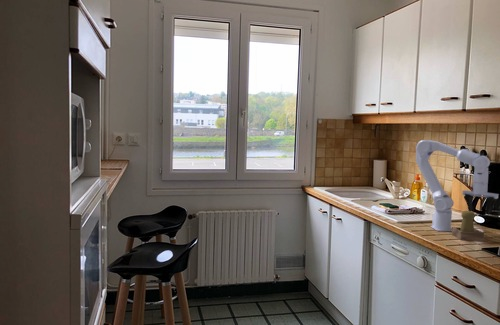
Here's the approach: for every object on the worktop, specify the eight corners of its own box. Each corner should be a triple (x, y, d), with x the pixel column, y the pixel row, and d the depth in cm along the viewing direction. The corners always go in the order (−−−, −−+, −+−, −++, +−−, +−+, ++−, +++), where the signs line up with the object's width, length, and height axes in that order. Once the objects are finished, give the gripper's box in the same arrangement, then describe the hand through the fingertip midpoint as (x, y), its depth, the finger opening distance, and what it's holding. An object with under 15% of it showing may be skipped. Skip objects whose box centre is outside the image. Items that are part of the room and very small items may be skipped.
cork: (470, 234, 191) (472, 210, 191) (477, 237, 185) (478, 212, 185) (456, 233, 192) (458, 209, 191) (462, 237, 186) (464, 212, 185)
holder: (451, 234, 194) (452, 227, 194) (473, 235, 194) (473, 227, 193) (460, 240, 185) (461, 232, 184) (483, 240, 184) (484, 232, 184)
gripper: (460, 181, 196) (458, 211, 197) (494, 184, 185) (493, 215, 186) (466, 180, 200) (465, 209, 201) (500, 183, 190) (499, 214, 191)
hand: (479, 212), depth 194 cm, fingers open, 7 cm apart
